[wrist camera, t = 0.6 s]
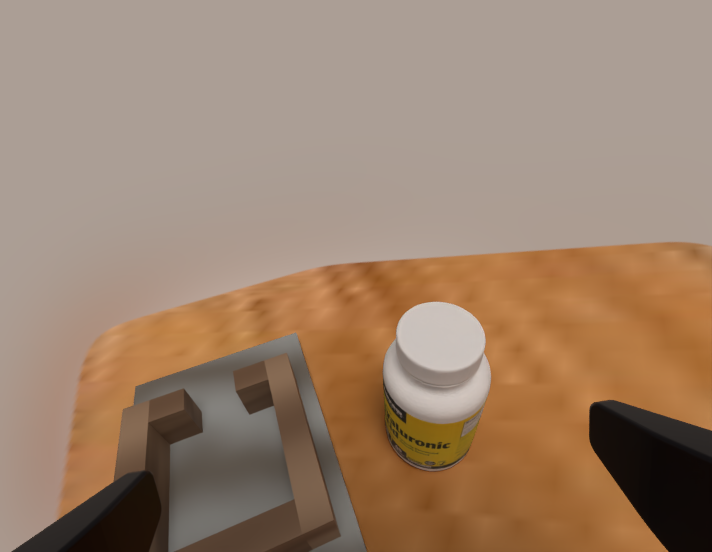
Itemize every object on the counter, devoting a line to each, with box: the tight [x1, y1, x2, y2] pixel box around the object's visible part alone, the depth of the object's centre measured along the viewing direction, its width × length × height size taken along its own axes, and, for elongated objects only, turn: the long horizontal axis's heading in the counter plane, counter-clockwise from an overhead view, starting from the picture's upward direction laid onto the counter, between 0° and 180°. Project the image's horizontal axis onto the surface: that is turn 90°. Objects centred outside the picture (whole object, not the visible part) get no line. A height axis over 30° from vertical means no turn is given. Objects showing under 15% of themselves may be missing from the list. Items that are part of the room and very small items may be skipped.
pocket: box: [114, 333, 367, 552], centre depth 20 cm, size 18×12×4 cm, turn 21°
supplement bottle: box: [383, 302, 491, 471], centre depth 20 cm, size 5×5×10 cm
